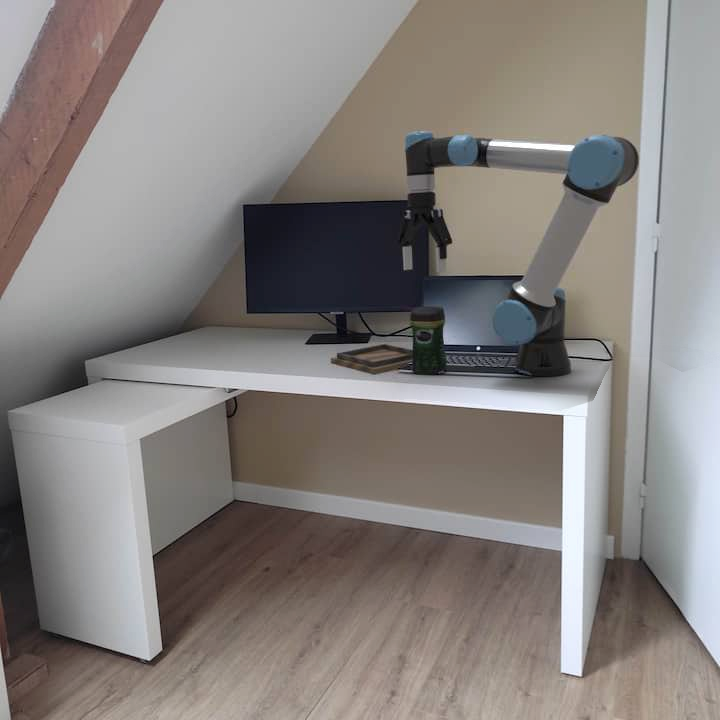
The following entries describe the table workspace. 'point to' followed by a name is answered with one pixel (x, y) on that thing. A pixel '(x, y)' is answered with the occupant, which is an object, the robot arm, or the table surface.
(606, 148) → the robot arm
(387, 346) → the wooden tray
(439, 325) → the coffee jar
